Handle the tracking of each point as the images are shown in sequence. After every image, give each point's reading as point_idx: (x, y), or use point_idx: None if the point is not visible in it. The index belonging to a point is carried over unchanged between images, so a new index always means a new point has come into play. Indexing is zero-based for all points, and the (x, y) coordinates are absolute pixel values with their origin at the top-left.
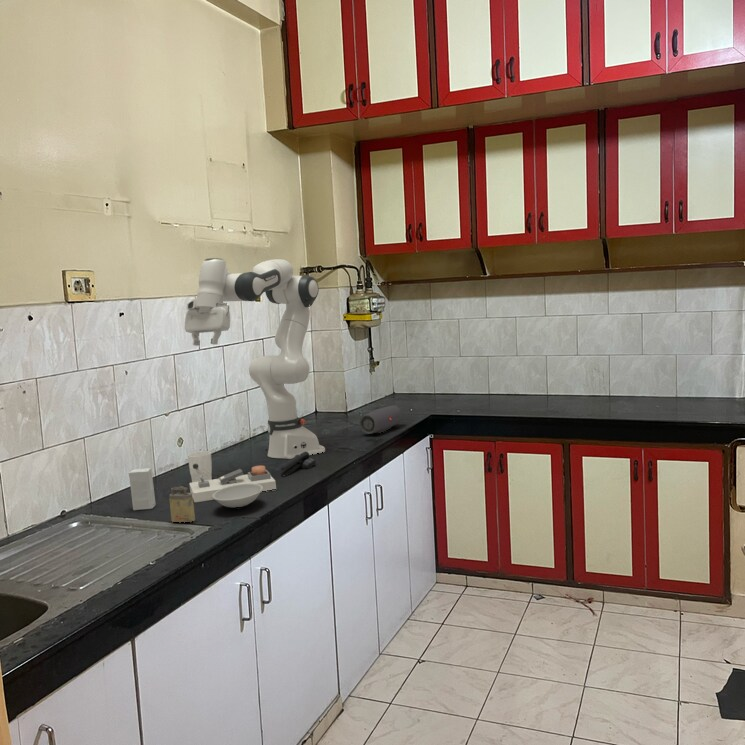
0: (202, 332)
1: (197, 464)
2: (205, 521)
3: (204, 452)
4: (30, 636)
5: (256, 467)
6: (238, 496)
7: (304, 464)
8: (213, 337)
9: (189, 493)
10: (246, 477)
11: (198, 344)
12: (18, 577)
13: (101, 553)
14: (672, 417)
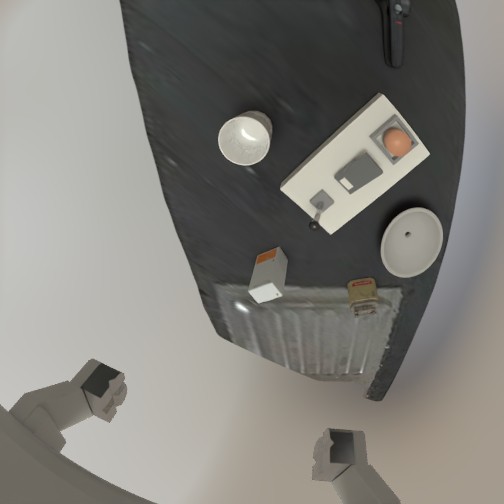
0: (62, 455)
1: (318, 226)
2: (387, 279)
3: (237, 118)
4: (370, 394)
5: (396, 146)
6: (400, 221)
7: (403, 13)
8: (341, 487)
9: (375, 304)
10: (367, 139)
11: (121, 382)
12: (305, 371)
13: (333, 345)
14: None
